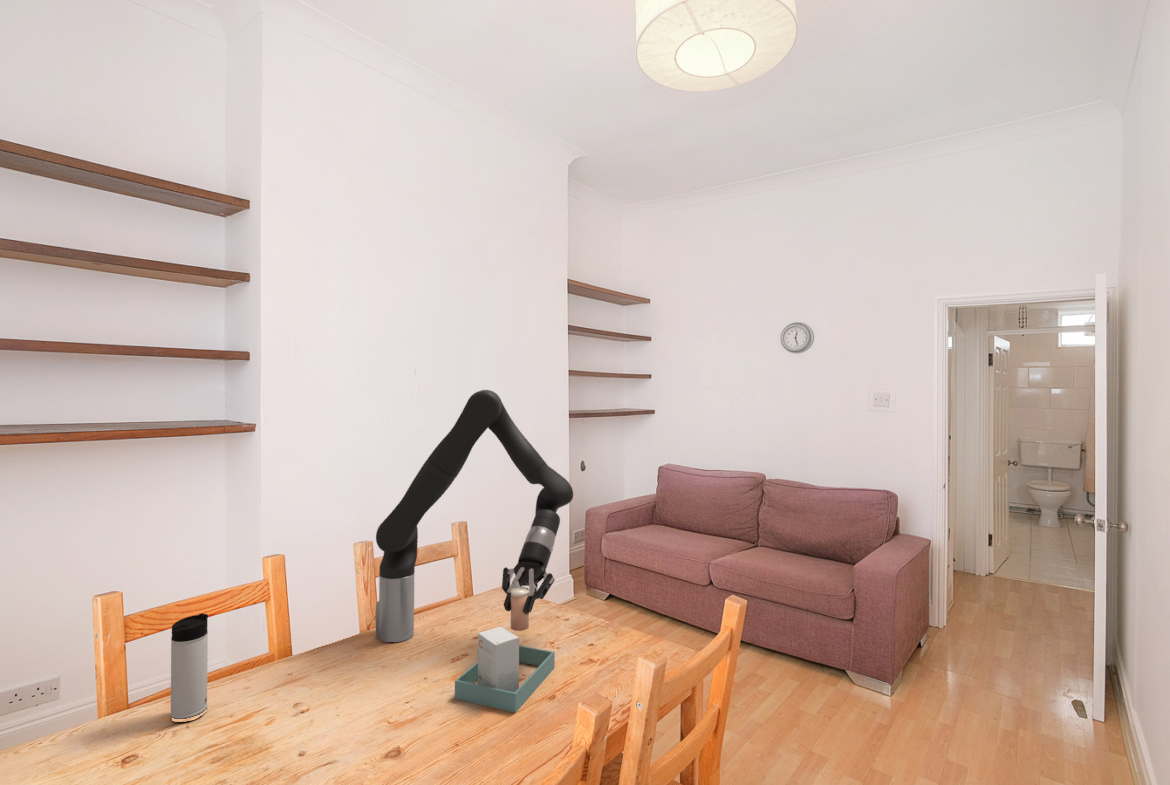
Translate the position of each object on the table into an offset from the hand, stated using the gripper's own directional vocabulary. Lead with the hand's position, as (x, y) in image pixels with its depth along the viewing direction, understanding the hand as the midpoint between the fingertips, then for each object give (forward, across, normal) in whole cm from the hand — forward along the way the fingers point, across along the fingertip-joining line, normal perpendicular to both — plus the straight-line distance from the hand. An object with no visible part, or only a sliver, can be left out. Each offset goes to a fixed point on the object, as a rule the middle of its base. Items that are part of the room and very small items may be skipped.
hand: (516, 611), depth 139 cm
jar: (+2, 0, +5) cm, 5 cm away
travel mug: (+39, -55, -18) cm, 70 cm away
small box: (+17, 0, +5) cm, 18 cm away
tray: (+14, 0, +8) cm, 16 cm away
